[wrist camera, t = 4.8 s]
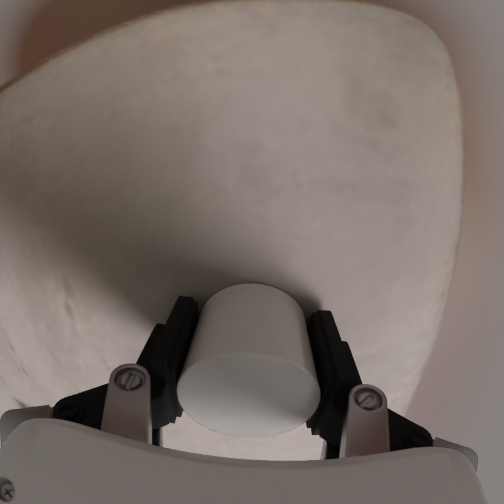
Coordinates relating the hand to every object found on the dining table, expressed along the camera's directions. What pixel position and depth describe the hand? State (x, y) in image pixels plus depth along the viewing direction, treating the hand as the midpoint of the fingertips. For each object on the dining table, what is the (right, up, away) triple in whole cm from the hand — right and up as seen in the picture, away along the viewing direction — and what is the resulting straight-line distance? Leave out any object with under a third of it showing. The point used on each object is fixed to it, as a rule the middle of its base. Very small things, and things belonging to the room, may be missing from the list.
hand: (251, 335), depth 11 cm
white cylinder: (0, 0, 0) cm, 0 cm away
